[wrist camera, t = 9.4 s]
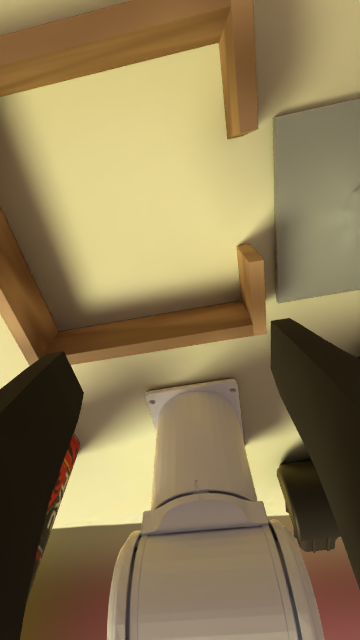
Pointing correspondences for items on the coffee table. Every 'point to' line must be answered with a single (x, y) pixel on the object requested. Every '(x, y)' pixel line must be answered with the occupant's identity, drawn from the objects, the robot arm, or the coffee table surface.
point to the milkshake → (353, 212)
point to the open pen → (104, 54)
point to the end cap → (308, 506)
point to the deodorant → (56, 501)
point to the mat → (316, 201)
